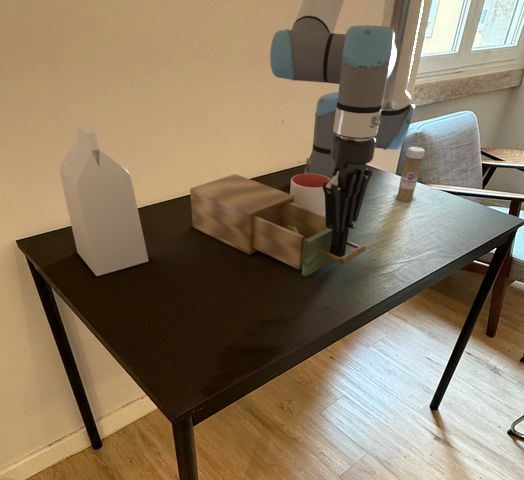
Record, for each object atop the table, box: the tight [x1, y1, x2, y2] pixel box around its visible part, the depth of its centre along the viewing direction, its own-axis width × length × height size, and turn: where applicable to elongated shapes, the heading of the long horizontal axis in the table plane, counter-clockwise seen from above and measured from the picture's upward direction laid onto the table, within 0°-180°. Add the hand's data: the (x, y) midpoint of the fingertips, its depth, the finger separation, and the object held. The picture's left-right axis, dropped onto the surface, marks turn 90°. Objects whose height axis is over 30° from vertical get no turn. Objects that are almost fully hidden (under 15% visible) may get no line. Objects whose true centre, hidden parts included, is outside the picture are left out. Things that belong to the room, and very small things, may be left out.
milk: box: [59, 124, 150, 277], centre depth 90 cm, size 12×12×26 cm
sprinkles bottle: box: [396, 146, 425, 202], centre depth 124 cm, size 5×5×13 cm
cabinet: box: [189, 173, 294, 256], centre depth 107 cm, size 20×15×10 cm
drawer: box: [252, 201, 367, 277], centre depth 97 cm, size 25×13×8 cm, turn 47°
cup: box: [289, 173, 331, 215], centre depth 113 cm, size 10×10×10 cm
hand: (336, 257), depth 93 cm, fingers closed
